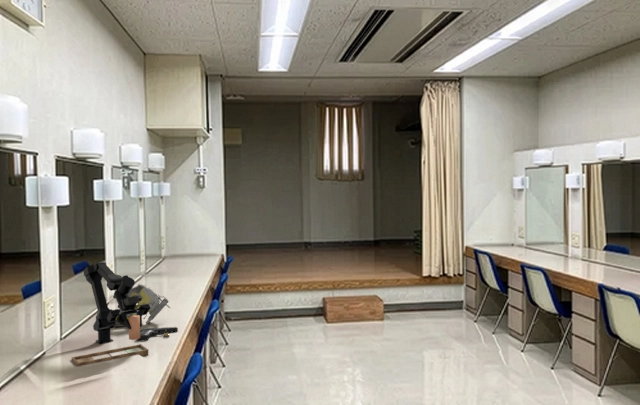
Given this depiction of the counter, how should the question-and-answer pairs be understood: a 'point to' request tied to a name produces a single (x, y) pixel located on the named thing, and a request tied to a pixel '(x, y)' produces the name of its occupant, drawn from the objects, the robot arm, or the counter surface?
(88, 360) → the box
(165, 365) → the counter surface
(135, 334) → the smooth tapered peach-colored object
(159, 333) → the pistol
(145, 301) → the circular saw
